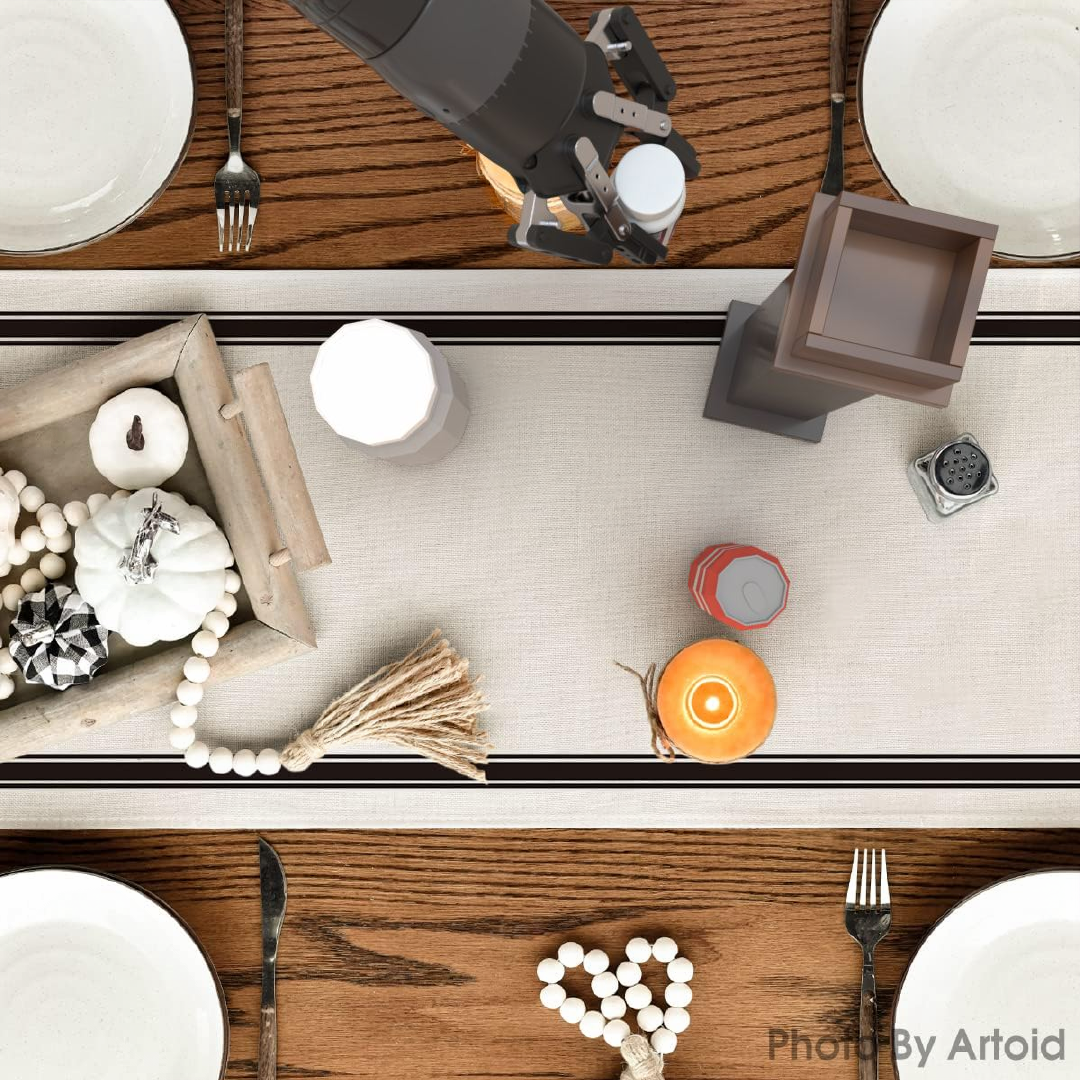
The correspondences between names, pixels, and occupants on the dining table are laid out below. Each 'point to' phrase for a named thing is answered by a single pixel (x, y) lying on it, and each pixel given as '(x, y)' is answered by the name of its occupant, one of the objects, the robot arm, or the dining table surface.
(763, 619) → the beverage can
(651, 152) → the pill bottle
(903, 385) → the socket cup
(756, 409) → the pedestal
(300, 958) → the dining table surface
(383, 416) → the jar
